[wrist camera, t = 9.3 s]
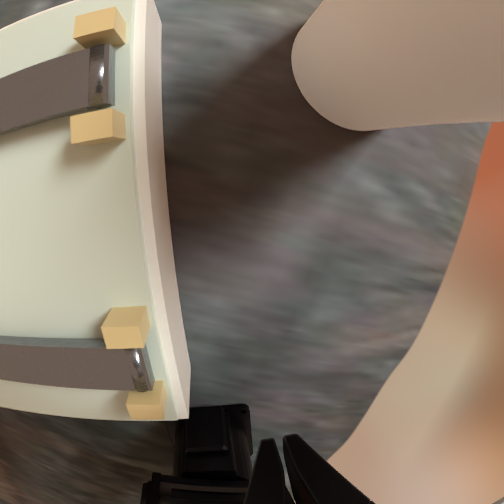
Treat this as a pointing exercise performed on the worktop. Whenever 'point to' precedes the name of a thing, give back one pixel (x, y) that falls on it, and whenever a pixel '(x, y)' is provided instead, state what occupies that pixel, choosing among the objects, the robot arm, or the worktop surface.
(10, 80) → the strap
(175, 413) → the storage box
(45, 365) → the strap
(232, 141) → the worktop surface
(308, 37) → the cup
